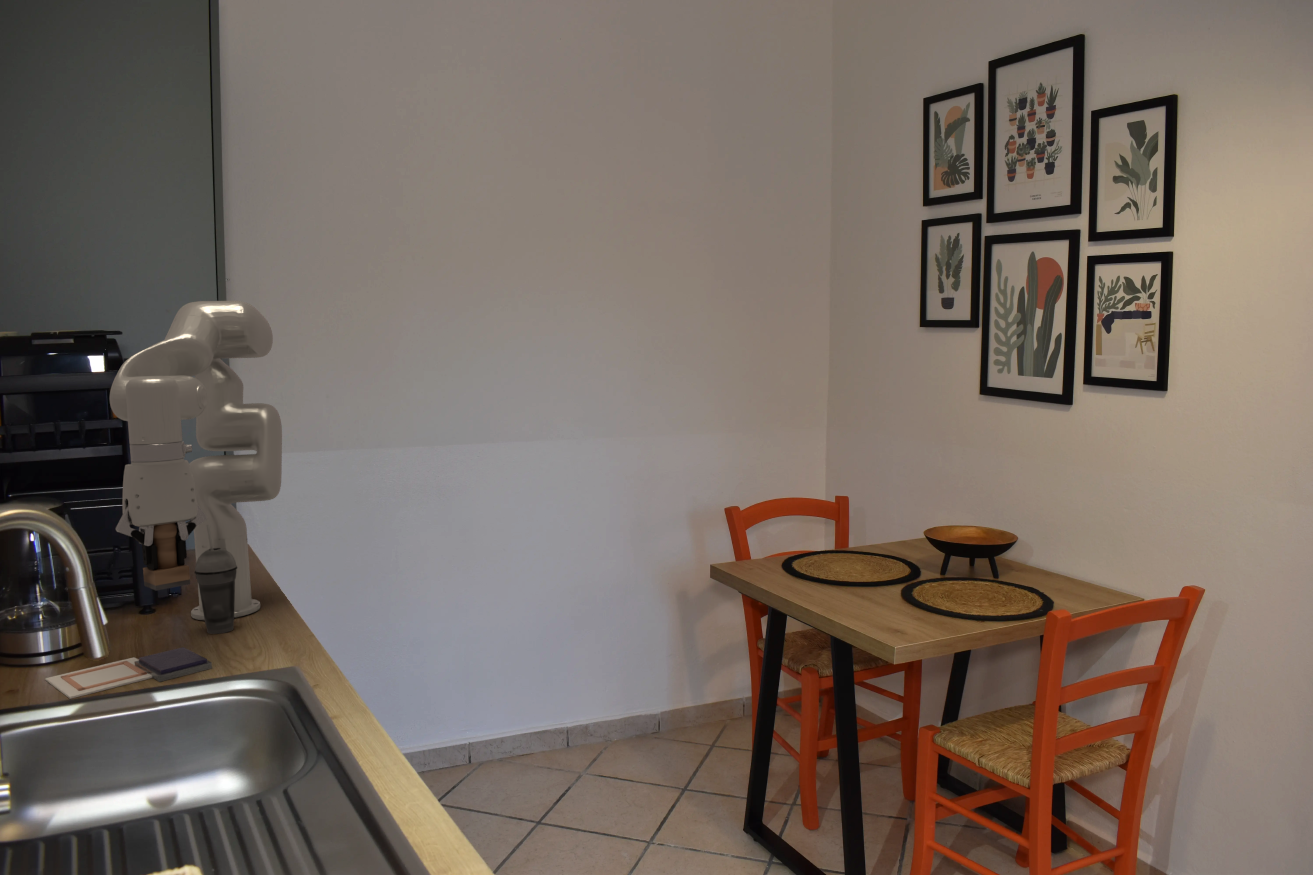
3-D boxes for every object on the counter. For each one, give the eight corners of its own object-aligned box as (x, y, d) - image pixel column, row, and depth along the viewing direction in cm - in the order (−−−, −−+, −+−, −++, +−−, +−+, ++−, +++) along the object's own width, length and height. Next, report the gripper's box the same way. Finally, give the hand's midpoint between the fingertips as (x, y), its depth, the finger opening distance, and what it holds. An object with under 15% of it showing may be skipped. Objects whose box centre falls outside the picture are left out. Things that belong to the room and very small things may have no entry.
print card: (45, 680, 147) (45, 676, 147) (134, 658, 156) (134, 655, 156) (69, 698, 138) (69, 695, 138) (162, 675, 147) (162, 672, 147)
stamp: (144, 585, 149) (139, 519, 149) (178, 579, 153) (173, 514, 152) (156, 590, 146) (150, 522, 145) (190, 584, 150) (185, 517, 149)
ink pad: (135, 667, 152) (134, 657, 152) (185, 654, 158) (185, 645, 157) (159, 681, 144) (158, 671, 144) (212, 668, 150) (211, 658, 150)
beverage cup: (220, 637, 167) (212, 529, 166) (189, 634, 170) (181, 527, 168) (250, 626, 174) (243, 522, 172) (220, 623, 177) (213, 520, 175)
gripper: (201, 448, 156) (208, 554, 158) (92, 458, 144) (101, 572, 146) (219, 450, 151) (227, 560, 153) (107, 460, 139) (117, 579, 141)
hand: (165, 565), depth 149 cm, fingers closed on stamp, 3 cm apart
